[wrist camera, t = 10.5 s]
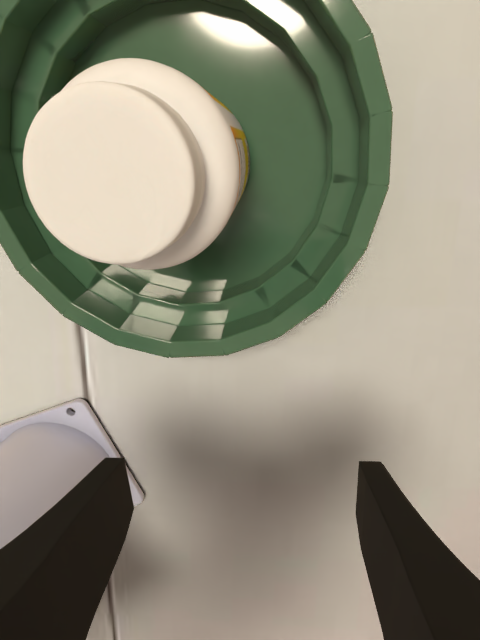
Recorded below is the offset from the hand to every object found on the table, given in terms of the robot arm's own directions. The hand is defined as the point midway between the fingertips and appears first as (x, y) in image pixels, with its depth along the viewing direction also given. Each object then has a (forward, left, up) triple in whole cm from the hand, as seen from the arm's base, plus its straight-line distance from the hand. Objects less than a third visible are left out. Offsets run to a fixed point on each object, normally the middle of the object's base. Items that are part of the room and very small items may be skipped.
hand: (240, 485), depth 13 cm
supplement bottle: (+1, +9, -10) cm, 14 cm away
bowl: (+1, +9, -10) cm, 14 cm away
